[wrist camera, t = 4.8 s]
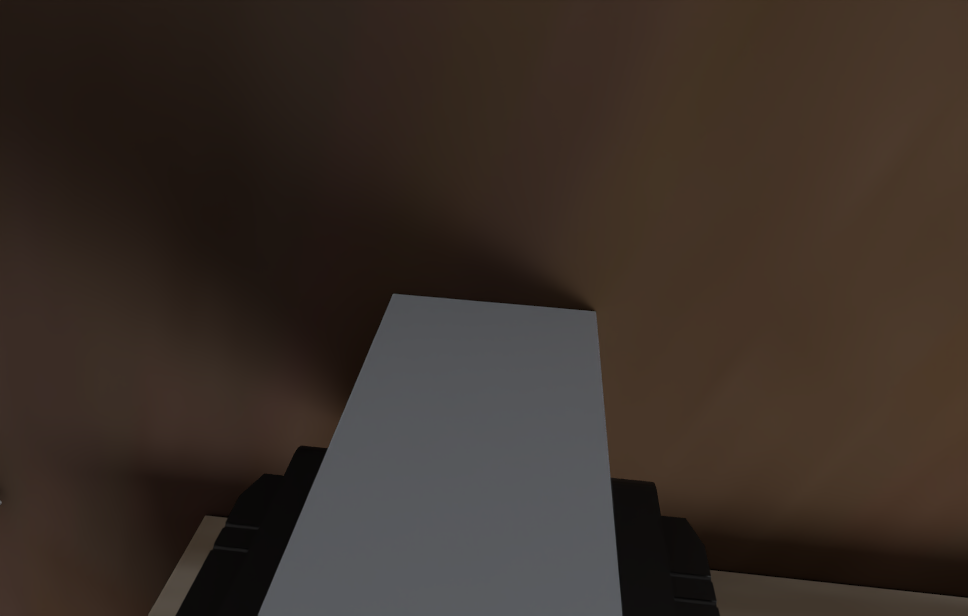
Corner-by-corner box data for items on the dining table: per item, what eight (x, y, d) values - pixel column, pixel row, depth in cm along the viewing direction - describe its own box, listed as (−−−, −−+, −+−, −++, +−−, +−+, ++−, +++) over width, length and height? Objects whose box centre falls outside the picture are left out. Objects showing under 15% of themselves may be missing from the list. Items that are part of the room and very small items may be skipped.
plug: (393, 293, 14) (111, 966, 5) (596, 311, 13) (661, 1047, 5) (397, 445, 16) (201, 1104, 7) (572, 463, 15) (589, 1166, 7)
